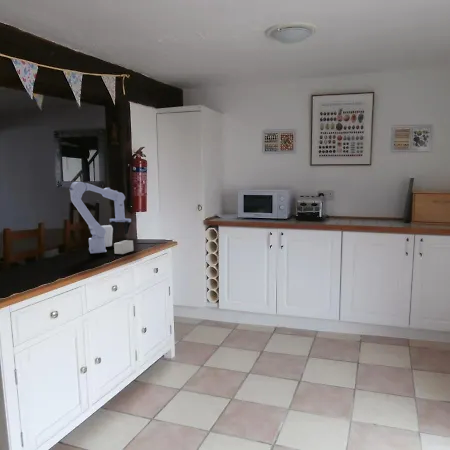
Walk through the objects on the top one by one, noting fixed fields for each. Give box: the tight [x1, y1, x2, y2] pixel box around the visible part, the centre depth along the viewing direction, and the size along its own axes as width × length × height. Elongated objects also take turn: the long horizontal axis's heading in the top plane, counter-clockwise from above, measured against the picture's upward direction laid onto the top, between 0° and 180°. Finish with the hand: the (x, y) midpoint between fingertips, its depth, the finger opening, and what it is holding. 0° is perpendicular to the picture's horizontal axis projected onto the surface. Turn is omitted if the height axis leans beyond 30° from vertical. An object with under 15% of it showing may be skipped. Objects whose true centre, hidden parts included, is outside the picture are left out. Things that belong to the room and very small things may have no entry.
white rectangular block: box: [113, 239, 134, 255], centre depth 247 cm, size 11×6×6 cm, turn 159°
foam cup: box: [101, 224, 114, 248], centre depth 271 cm, size 10×9×13 cm
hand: (121, 233), depth 259 cm, fingers open, 7 cm apart
